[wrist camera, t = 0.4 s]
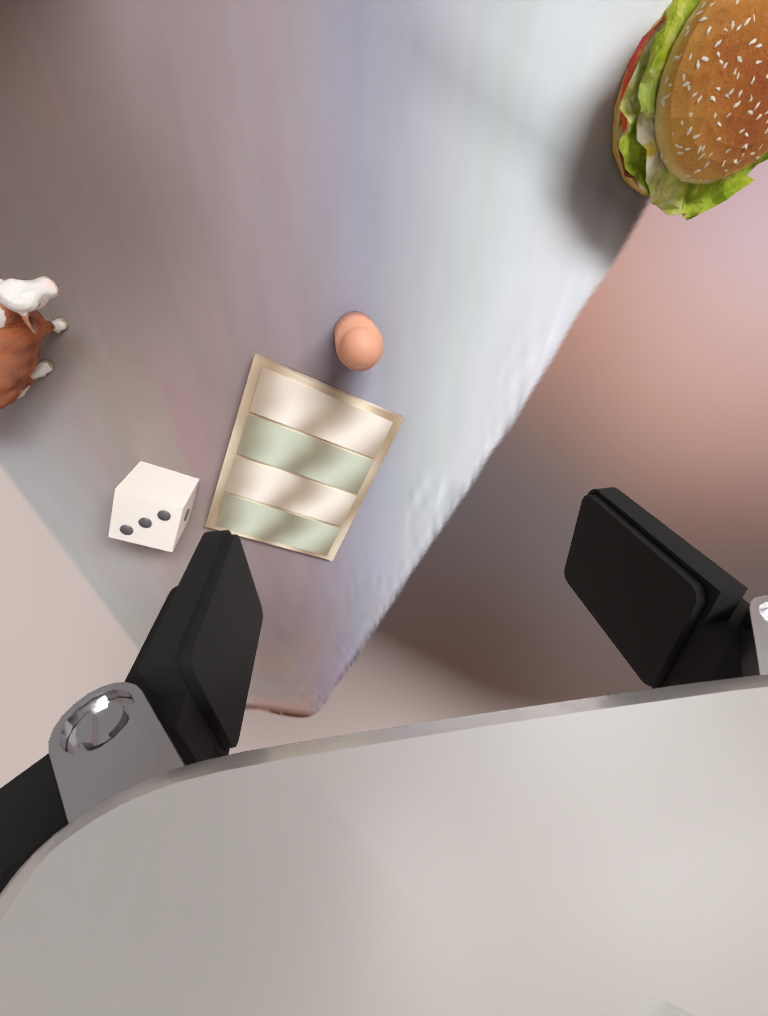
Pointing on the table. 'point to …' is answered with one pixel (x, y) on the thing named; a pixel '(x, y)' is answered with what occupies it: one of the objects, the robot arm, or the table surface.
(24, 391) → the bull figurine
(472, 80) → the table surface
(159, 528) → the die
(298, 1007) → the robot arm
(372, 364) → the peach rounded cylinder
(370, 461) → the game board
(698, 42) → the food
